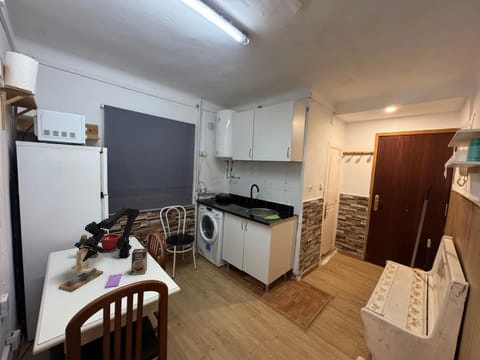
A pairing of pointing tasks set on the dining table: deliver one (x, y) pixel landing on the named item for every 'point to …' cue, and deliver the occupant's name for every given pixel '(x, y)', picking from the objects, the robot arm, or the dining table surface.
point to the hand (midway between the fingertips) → (80, 261)
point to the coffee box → (139, 261)
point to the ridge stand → (80, 280)
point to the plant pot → (109, 242)
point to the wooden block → (97, 245)
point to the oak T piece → (79, 264)
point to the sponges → (113, 281)
